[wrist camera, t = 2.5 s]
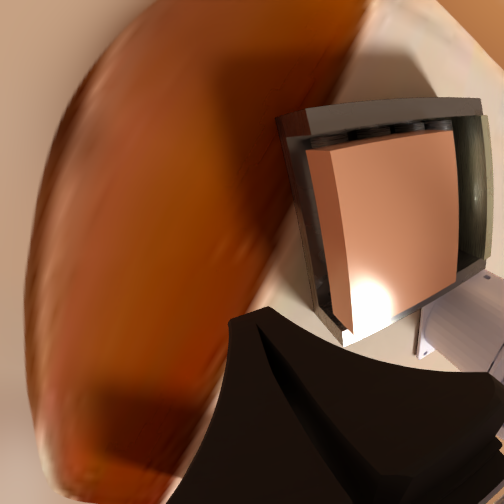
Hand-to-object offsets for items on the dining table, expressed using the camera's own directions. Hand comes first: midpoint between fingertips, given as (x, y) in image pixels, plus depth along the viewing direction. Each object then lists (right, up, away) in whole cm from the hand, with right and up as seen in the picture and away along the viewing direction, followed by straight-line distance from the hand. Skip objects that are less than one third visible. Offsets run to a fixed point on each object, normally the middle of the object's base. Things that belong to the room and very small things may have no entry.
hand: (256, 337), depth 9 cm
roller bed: (+9, +6, +10) cm, 15 cm away
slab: (+7, +4, +6) cm, 11 cm away
